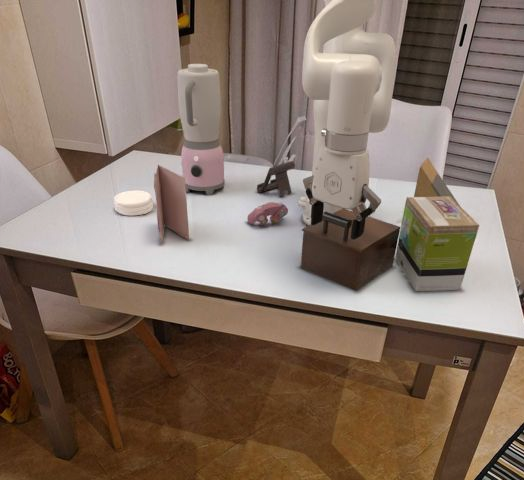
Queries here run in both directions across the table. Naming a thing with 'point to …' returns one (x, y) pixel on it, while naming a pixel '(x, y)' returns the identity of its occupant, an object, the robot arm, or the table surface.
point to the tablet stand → (277, 179)
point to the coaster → (133, 203)
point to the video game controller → (267, 213)
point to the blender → (201, 128)
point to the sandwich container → (431, 182)
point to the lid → (341, 226)
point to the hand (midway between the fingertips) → (335, 230)
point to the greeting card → (171, 202)
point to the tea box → (435, 243)
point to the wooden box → (347, 260)
